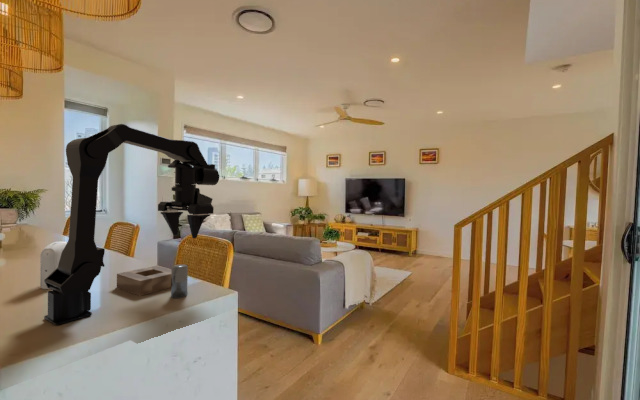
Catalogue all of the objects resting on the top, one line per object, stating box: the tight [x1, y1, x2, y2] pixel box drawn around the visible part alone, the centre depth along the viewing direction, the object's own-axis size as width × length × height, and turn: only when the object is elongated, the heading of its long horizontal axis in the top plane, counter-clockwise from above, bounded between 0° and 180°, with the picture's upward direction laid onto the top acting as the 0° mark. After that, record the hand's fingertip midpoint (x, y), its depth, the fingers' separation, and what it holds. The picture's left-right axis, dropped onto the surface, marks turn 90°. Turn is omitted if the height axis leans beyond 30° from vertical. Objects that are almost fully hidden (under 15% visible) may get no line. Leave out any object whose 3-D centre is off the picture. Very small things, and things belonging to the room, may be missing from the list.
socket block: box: [116, 265, 171, 297], centre depth 89 cm, size 12×12×4 cm
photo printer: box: [39, 240, 68, 290], centre depth 89 cm, size 10×4×12 cm, turn 17°
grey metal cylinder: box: [170, 264, 189, 299], centre depth 82 cm, size 4×4×8 cm
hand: (184, 236), depth 91 cm, fingers open, 9 cm apart
